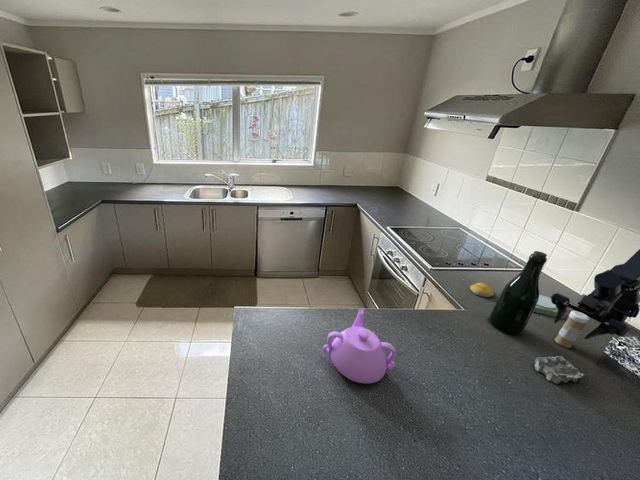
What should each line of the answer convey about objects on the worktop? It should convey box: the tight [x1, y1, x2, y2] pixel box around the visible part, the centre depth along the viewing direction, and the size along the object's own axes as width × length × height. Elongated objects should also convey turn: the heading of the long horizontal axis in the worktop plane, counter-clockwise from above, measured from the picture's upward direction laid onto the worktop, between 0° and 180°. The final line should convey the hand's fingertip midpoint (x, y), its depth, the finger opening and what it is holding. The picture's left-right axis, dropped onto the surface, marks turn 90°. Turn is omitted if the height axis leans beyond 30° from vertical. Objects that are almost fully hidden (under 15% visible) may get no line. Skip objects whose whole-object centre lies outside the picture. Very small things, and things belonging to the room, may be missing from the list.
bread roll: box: [469, 282, 495, 298], centre depth 130 cm, size 8×9×4 cm
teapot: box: [322, 306, 397, 384], centre depth 90 cm, size 22×22×14 cm
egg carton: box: [534, 355, 584, 385], centre depth 90 cm, size 11×8×4 cm
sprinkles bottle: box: [554, 310, 591, 349], centre depth 100 cm, size 5×5×13 cm
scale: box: [533, 294, 567, 320], centre depth 122 cm, size 14×12×4 cm
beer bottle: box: [488, 250, 548, 336], centre depth 104 cm, size 10×10×33 cm
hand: (569, 330), depth 100 cm, fingers open, 8 cm apart
